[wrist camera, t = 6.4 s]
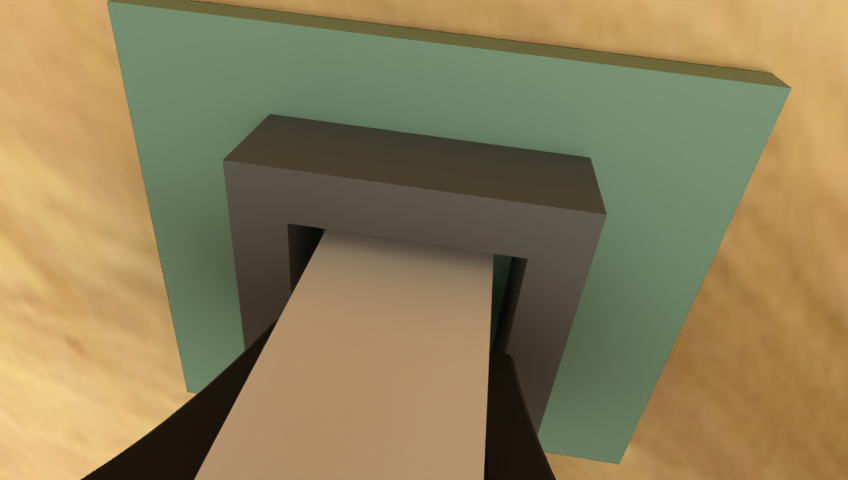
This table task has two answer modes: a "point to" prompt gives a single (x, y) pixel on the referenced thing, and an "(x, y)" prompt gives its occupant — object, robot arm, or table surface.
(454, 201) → the header board
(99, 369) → the table surface
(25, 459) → the table surface
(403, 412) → the keyed plug
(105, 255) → the table surface
